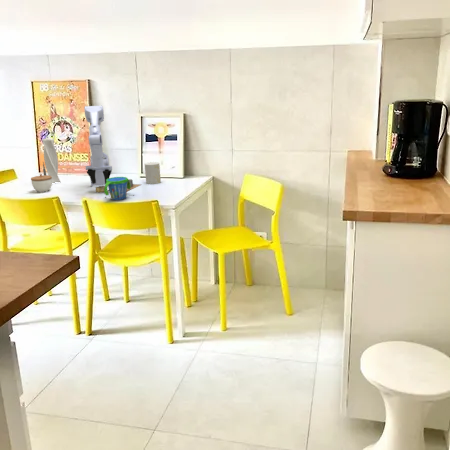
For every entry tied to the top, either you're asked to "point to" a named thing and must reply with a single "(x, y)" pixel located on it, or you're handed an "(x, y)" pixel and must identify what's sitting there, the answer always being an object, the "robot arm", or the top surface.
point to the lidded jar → (42, 182)
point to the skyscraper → (50, 159)
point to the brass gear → (100, 189)
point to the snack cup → (117, 187)
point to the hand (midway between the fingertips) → (100, 183)
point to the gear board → (133, 187)
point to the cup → (152, 173)
